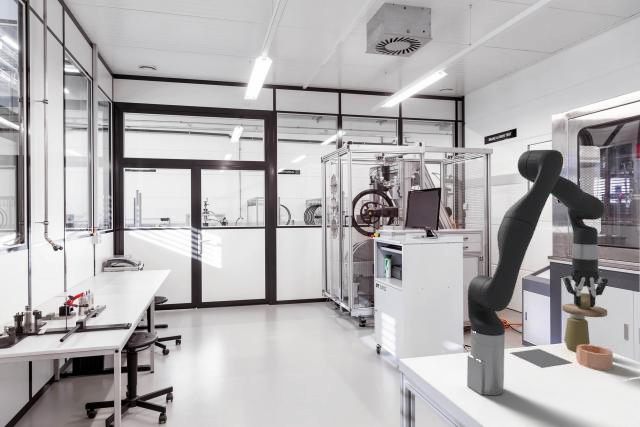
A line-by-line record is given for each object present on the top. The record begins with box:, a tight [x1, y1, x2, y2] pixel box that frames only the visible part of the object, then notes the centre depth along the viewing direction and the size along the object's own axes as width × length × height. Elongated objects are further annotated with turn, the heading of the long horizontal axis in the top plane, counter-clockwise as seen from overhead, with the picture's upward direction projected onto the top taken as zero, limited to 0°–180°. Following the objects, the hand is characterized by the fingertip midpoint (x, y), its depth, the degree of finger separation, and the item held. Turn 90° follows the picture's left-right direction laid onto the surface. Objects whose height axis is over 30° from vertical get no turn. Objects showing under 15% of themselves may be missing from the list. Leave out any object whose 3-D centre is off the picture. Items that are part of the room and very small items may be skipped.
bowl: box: [575, 344, 614, 371], centre depth 138 cm, size 10×10×6 cm
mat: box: [509, 348, 573, 369], centre depth 143 cm, size 14×14×1 cm
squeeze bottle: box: [563, 313, 591, 353], centre depth 151 cm, size 8×8×18 cm
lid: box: [561, 292, 608, 318], centre depth 139 cm, size 13×13×6 cm
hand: (584, 306), depth 139 cm, fingers closed on lid, 3 cm apart
